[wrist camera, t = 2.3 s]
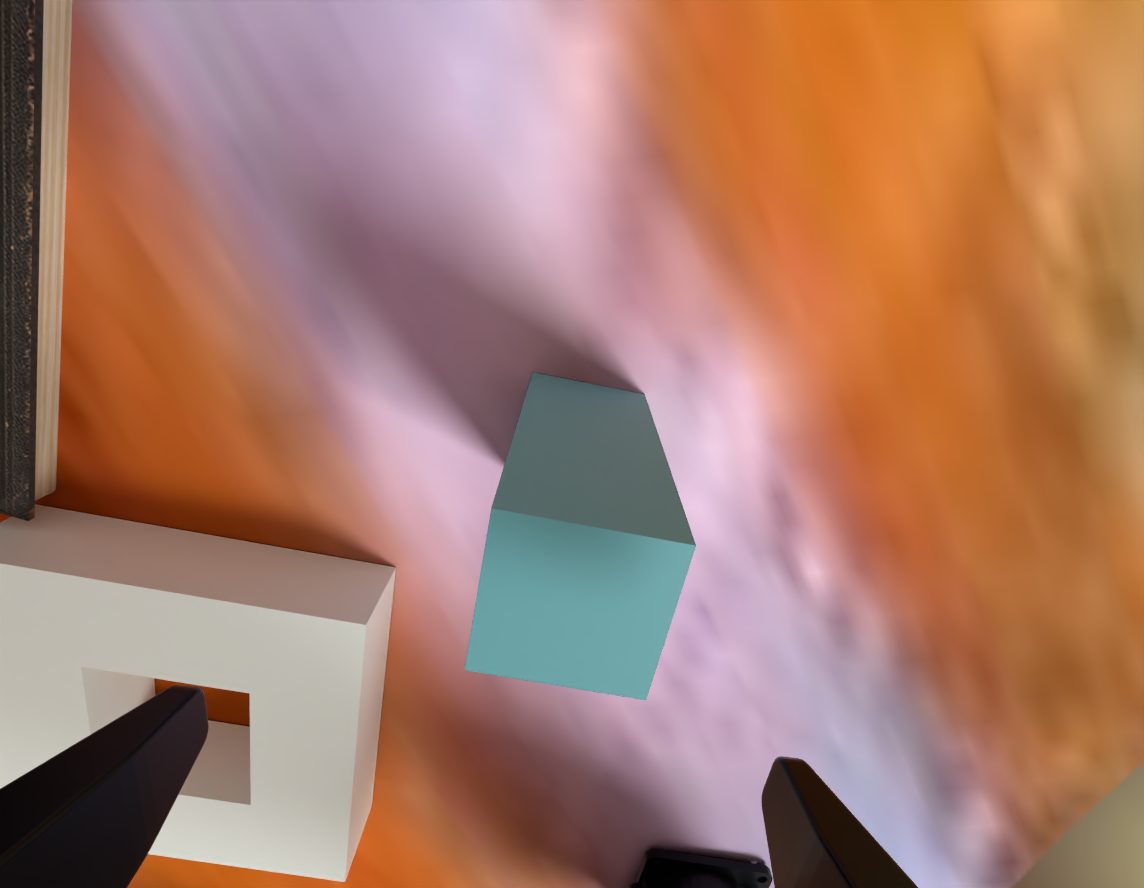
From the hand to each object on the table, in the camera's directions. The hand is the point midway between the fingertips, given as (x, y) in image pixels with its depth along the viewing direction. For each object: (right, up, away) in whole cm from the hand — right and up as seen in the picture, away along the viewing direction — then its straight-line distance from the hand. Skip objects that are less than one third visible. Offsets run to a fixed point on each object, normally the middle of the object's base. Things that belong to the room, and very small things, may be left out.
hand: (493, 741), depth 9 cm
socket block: (-14, -5, +16) cm, 22 cm away
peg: (+1, +5, +12) cm, 13 cm away
